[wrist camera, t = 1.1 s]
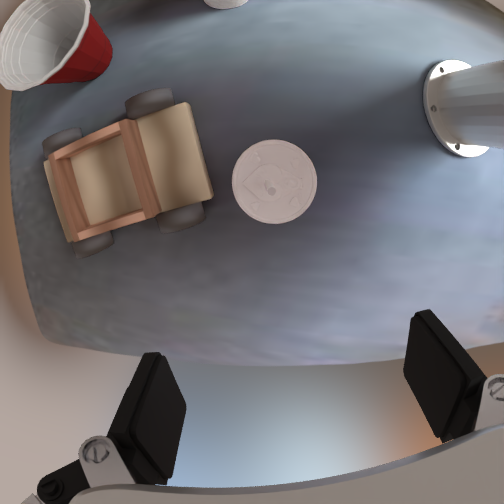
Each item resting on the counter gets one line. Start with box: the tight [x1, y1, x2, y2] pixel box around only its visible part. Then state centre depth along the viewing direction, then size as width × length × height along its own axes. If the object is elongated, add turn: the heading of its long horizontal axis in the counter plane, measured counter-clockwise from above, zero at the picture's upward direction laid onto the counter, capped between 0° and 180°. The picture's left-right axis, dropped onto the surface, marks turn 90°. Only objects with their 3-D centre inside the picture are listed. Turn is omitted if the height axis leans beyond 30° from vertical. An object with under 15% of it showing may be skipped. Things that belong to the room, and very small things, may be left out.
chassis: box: [42, 88, 214, 259], centre depth 28 cm, size 18×14×5 cm
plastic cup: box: [0, 0, 112, 91], centre depth 20 cm, size 11×11×12 cm
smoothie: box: [232, 139, 317, 224], centre depth 24 cm, size 6×6×14 cm
